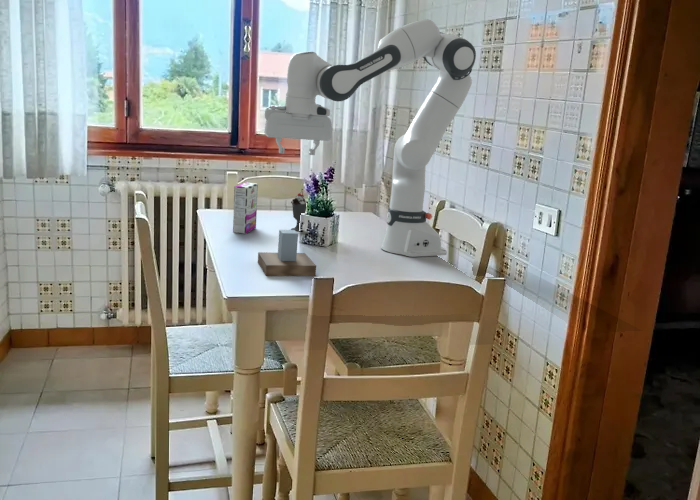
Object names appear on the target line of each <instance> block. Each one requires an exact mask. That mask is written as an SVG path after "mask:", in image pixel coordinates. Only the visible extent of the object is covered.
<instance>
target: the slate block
mask: <svg viewBox="0 0 700 500" xmlns="http://www.w3.org/2000/svg"><path fill="white" fill-rule="evenodd" d="M278 231H279V232H278V245H277V246H278V247H277V253H278V258H279V259H280V261H296V257H297V253H298V240H299V239H298V238H299V232H298V231H295V230H291V229H278Z"/></svg>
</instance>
